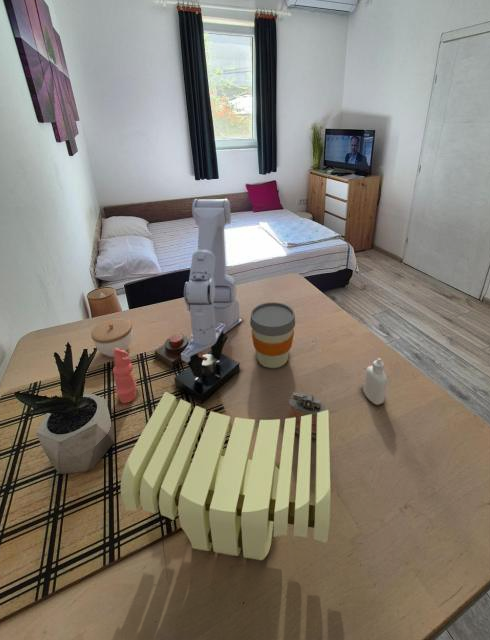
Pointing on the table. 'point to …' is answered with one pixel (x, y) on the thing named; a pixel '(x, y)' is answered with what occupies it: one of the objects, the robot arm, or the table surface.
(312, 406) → the lighter
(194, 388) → the panel
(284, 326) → the reusable coffee cup
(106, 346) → the trinket box
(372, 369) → the eye dropper bottle
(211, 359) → the dial
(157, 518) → the table surface
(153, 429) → the slatted curved stool
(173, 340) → the button
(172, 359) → the button block
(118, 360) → the figurine
